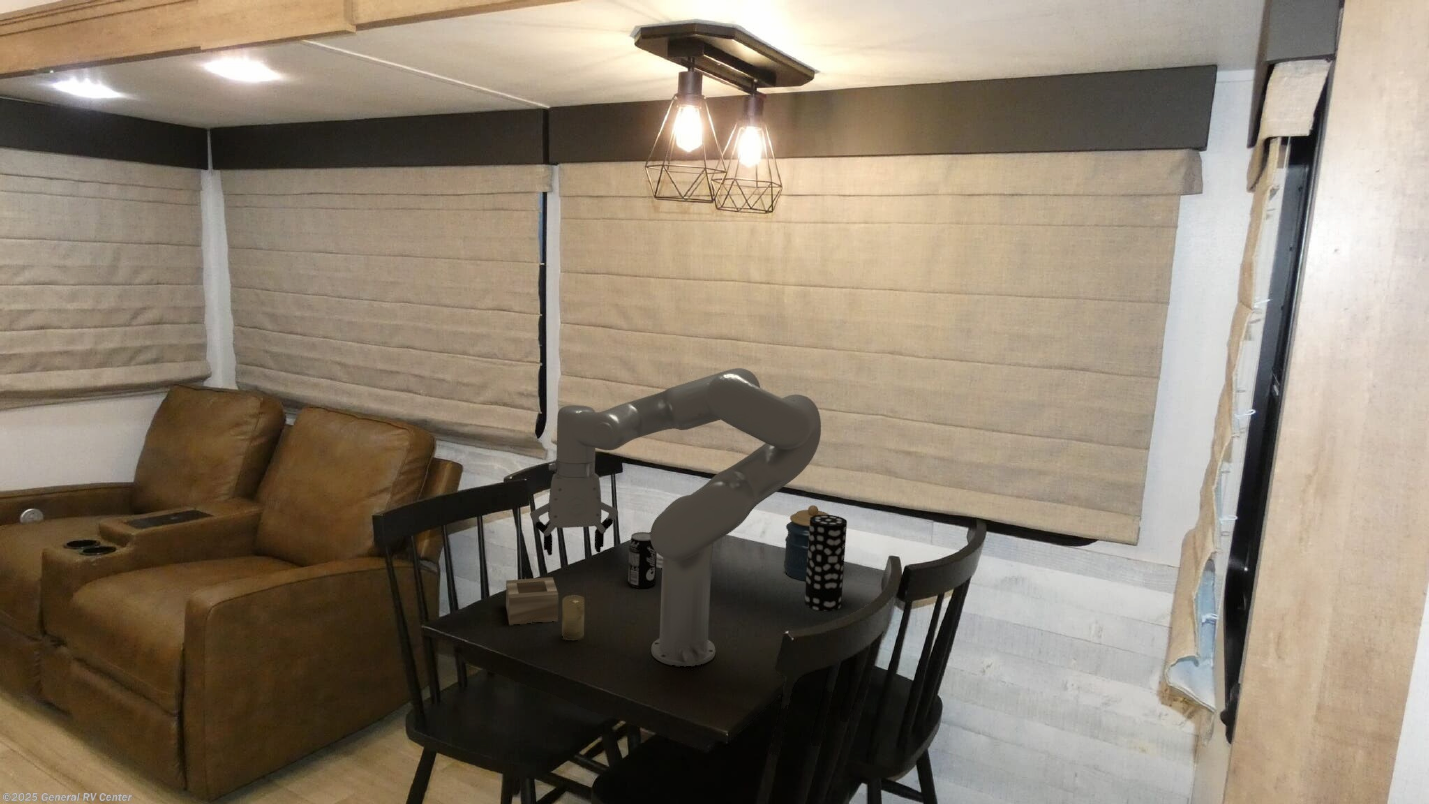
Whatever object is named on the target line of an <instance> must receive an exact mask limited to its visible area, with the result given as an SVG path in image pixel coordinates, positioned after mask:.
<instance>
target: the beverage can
mask: <svg viewBox="0 0 1429 804" xmlns="http://www.w3.org/2000/svg"><path fill="white" fill-rule="evenodd" d="M628 543H629V544H628V569H627V570H628V577H627V581H628V583H629V585H630V586H631V587H633V588H636V589H648V588H652V587H653V586H654V584H655V583H656V582H657V567H656V561H657V552H656V551H655V550H654V548H653V546H652V543H651V539H650V532H649V531H648V532H647V531H638V532H634V533H632V534H631V537H630V539H629V542H628Z"/></svg>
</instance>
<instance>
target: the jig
mask: <svg viewBox="0 0 1429 804" xmlns="http://www.w3.org/2000/svg"><path fill="white" fill-rule="evenodd" d="M505 582H506V583H505V598H506V599H505V608H506V614H507V620H508V624H509V625H508V626H514V625H513V624H520V625H528V624H527V623H531V624H533V623H532V622H543V623H551V622H552V621H554V622H559V592H558V590H557V589H558V588H557V586H556V583H555V580H554V577H553V576H552V577H551V576H550V577H538V578H524V579H523V578H521V579H509V580H505Z"/></svg>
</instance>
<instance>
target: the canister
mask: <svg viewBox="0 0 1429 804" xmlns="http://www.w3.org/2000/svg"><path fill="white" fill-rule="evenodd" d="M815 515H830V514H829V513H828V512H825V511H821V510H819V508H818V506H816V505H813V504H812V505H810V506H808V509H802V510H797V511H796V513H793V514H791V515H790V517H789V519H790V522H788V523H787V524H786V525H785V529H786V531H787V536H785V553H784V561H783V568H784V573H785V572H786V573H787V574H786V573H785V574H786V575H787V576H788V577H790V576H791V578H793V579H795V578H796V580H799V581H804V580H806V574H807V558H808V542H809V526H810V517H812V516H815Z"/></svg>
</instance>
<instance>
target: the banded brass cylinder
mask: <svg viewBox="0 0 1429 804" xmlns="http://www.w3.org/2000/svg"><path fill="white" fill-rule="evenodd" d="M561 605H562V607H561V609H562V611H561V613H562V614H561V637H562V636H563V638H567V639H579V638H582V637H583V636H585V597H584V596H582V595H579V594H578V595H577V594H571V595H570V594H569V595H566V596H564V597H563V598H562V604H561ZM563 638H562V639H563ZM583 638H584V637H583Z"/></svg>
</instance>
